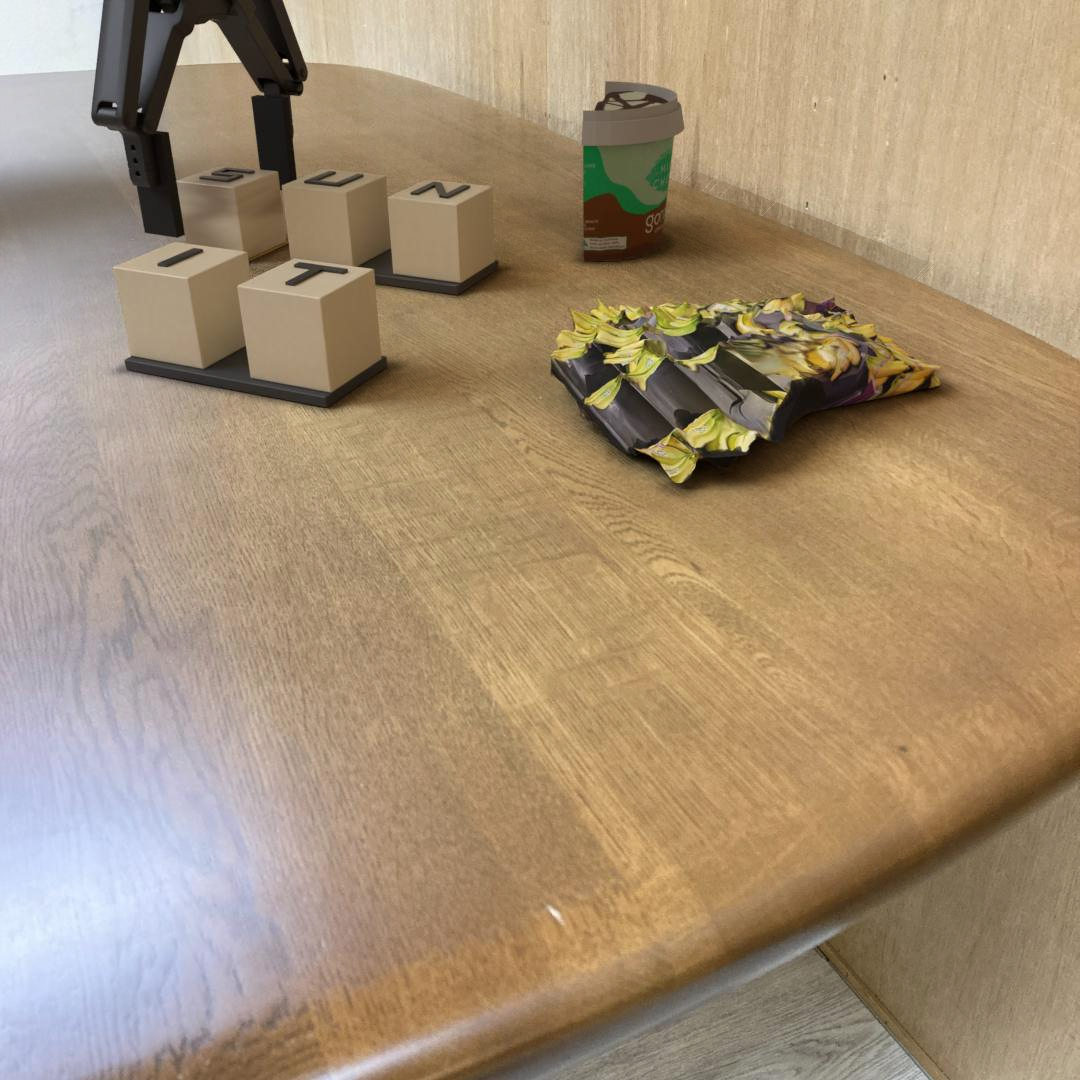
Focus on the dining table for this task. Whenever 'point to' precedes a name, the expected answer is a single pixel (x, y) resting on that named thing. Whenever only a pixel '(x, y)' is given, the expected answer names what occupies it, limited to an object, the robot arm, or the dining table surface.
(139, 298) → the front word
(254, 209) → the tile
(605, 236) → the food container
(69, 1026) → the dining table surface
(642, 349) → the banana patterned fabric
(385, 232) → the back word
